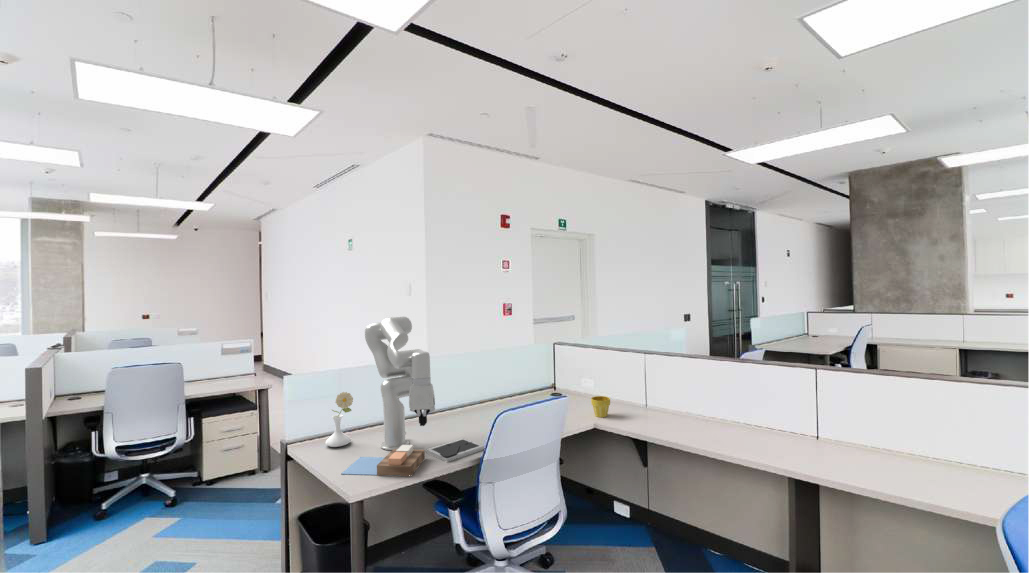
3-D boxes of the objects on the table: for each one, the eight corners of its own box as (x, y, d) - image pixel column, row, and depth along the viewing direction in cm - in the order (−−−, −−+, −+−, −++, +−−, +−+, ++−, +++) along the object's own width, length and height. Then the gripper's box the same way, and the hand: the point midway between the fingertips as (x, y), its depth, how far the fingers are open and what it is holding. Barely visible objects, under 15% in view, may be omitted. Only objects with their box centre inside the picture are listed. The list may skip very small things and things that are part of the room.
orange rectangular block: (394, 458, 199) (394, 452, 198) (406, 458, 198) (406, 452, 198) (388, 464, 192) (388, 458, 192) (400, 464, 191) (400, 458, 191)
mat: (360, 457, 211) (360, 456, 211) (393, 458, 209) (393, 457, 209) (341, 474, 193) (341, 473, 193) (377, 475, 191) (377, 474, 191)
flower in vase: (323, 450, 221) (321, 396, 220) (327, 442, 232) (325, 390, 231) (353, 447, 224) (351, 394, 223) (355, 439, 235) (354, 388, 234)
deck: (393, 458, 209) (393, 449, 209) (424, 458, 207) (424, 449, 207) (377, 475, 191) (376, 465, 191) (411, 476, 190) (410, 466, 189)
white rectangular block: (402, 450, 207) (402, 444, 207) (413, 450, 206) (413, 445, 206) (396, 456, 200) (396, 450, 200) (407, 456, 199) (407, 450, 199)
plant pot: (591, 418, 260) (591, 400, 260) (591, 413, 270) (590, 395, 270) (611, 418, 259) (610, 400, 259) (609, 413, 269) (609, 395, 269)
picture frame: (446, 463, 203) (484, 450, 217) (446, 456, 203) (484, 444, 217) (426, 453, 215) (463, 442, 229) (426, 447, 215) (463, 436, 229)
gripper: (401, 383, 199) (402, 427, 199) (436, 383, 197) (437, 427, 197) (407, 379, 206) (408, 422, 206) (441, 379, 204) (442, 422, 204)
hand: (423, 424), depth 202 cm, fingers closed
